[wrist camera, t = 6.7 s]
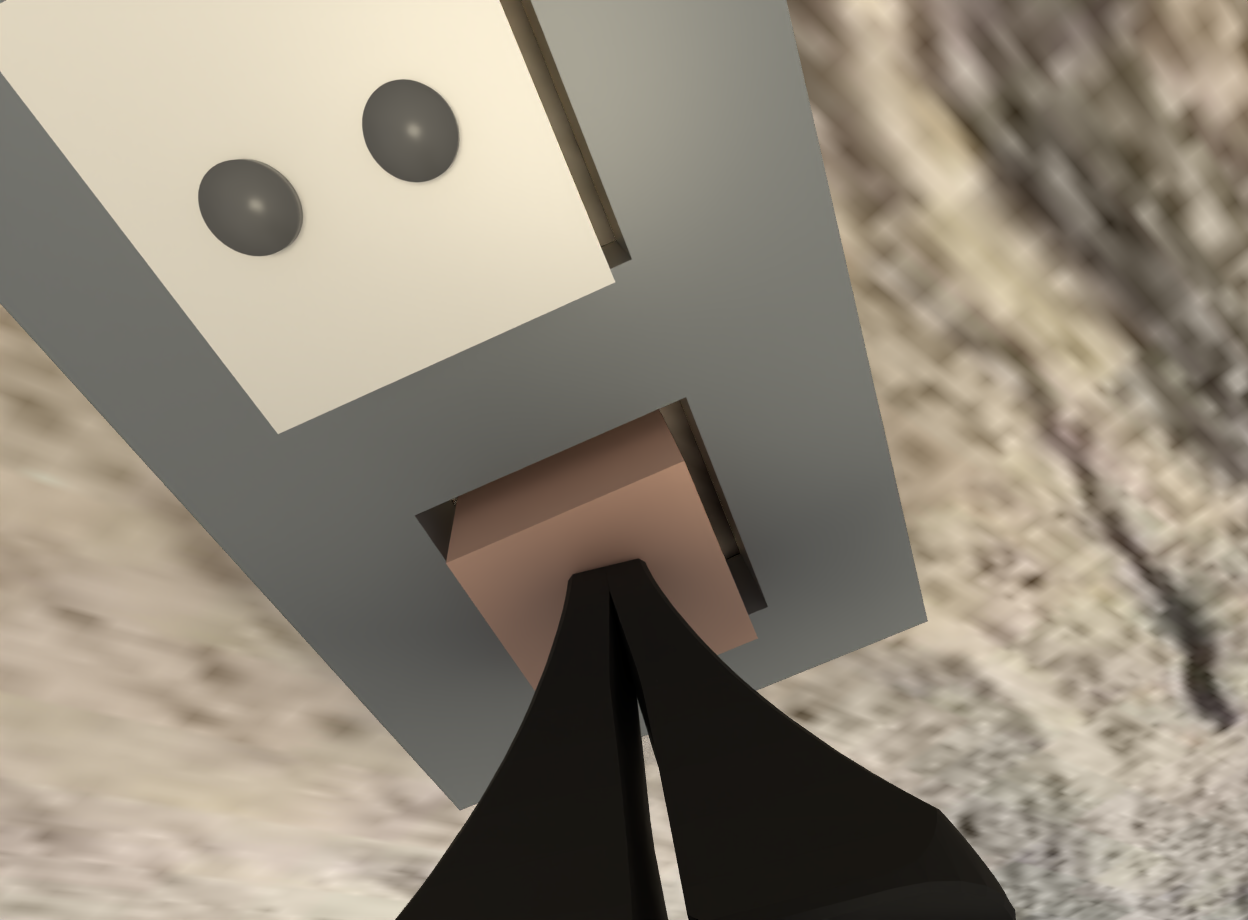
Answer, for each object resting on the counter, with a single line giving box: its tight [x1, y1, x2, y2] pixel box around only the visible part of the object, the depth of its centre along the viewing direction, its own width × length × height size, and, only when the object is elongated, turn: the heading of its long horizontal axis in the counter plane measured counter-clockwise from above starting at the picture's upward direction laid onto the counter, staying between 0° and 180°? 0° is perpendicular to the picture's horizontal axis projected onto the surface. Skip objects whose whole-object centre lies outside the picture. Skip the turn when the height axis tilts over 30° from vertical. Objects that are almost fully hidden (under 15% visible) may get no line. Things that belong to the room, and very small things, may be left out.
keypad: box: [0, 0, 928, 810], centre depth 10 cm, size 12×26×2 cm, turn 22°
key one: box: [446, 409, 758, 691], centre depth 13 cm, size 4×4×3 cm
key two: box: [0, 0, 615, 434], centre depth 8 cm, size 4×4×3 cm
